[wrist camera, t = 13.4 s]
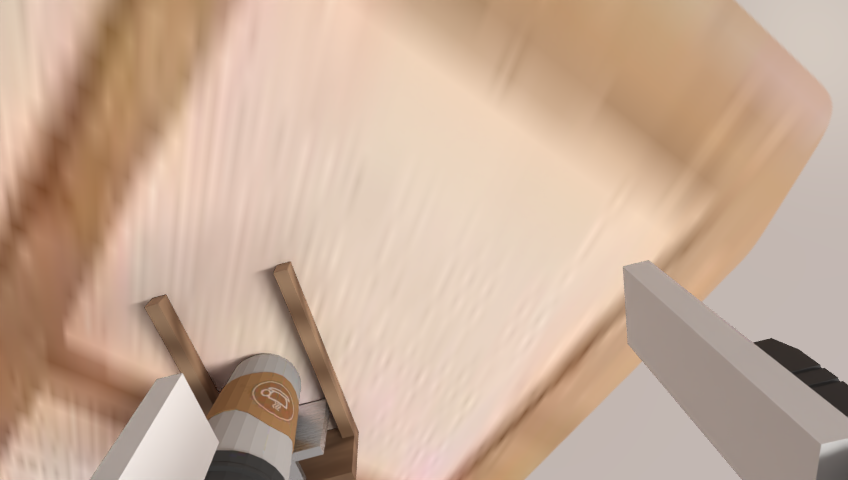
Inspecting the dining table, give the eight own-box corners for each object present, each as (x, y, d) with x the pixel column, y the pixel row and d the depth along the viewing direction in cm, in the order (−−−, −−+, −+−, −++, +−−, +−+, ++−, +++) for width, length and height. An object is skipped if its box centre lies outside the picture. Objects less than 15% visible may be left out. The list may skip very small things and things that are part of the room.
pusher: (236, 422, 46) (217, 472, 41) (327, 398, 46) (319, 445, 41) (251, 449, 48) (234, 501, 42) (338, 426, 48) (333, 475, 42)
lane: (152, 297, 41) (117, 336, 35) (290, 261, 41) (276, 294, 35) (242, 462, 49) (224, 515, 43) (358, 432, 48) (355, 481, 43)
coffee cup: (330, 373, 46) (308, 514, 32) (278, 426, 47) (236, 582, 34) (256, 326, 43) (198, 457, 29) (204, 385, 45) (126, 535, 31)
